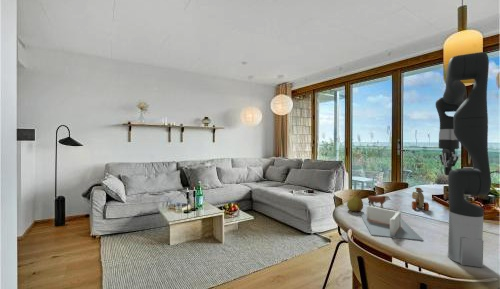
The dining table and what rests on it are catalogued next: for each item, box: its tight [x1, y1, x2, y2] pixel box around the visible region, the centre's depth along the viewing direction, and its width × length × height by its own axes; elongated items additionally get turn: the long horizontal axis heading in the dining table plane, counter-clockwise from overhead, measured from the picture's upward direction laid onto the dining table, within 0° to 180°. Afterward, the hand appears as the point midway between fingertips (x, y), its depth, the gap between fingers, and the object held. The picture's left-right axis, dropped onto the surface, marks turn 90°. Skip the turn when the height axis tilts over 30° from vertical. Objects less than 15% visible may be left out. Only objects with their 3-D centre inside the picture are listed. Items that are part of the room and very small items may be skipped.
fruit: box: [346, 191, 364, 213], centre depth 148 cm, size 9×9×12 cm
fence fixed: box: [390, 211, 402, 236], centre depth 114 cm, size 16×2×8 cm, turn 139°
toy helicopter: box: [411, 187, 430, 211], centre depth 157 cm, size 8×21×14 cm, turn 158°
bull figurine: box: [367, 194, 391, 209], centre depth 157 cm, size 4×13×8 cm, turn 78°
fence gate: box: [366, 205, 397, 224], centre depth 126 cm, size 14×2×7 cm, turn 42°
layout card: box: [359, 213, 425, 242], centre depth 122 cm, size 32×20×1 cm, turn 164°
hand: (447, 174), depth 115 cm, fingers closed
